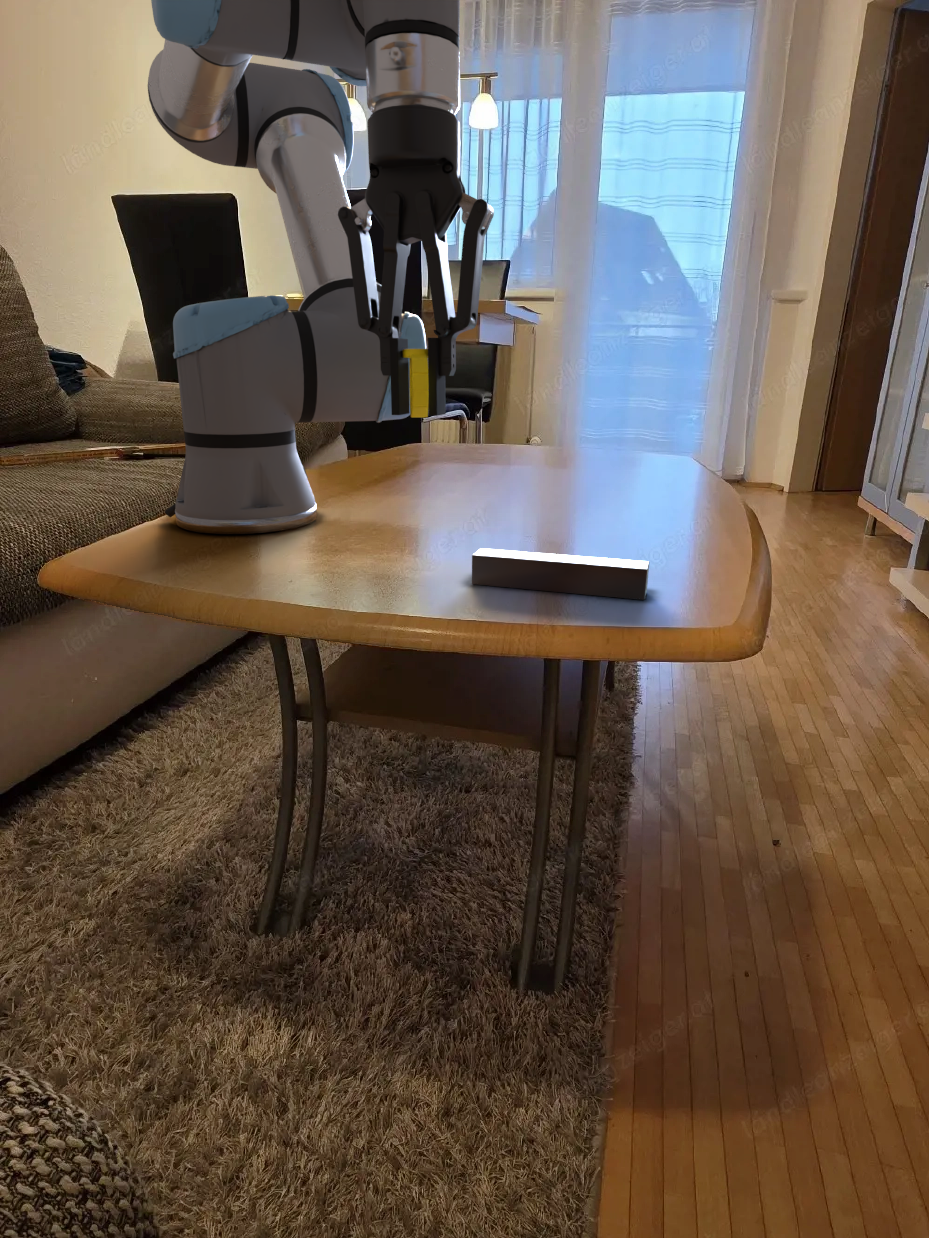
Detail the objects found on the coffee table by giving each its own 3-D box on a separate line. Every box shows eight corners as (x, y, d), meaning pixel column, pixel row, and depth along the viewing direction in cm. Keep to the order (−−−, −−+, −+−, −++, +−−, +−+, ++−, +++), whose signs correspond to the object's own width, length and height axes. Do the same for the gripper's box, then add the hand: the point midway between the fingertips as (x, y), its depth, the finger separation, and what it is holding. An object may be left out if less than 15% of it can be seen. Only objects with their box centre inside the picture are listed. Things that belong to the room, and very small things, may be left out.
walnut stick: (471, 584, 62) (471, 554, 62) (479, 576, 65) (480, 547, 64) (644, 600, 59) (647, 569, 58) (646, 591, 61) (649, 561, 60)
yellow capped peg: (436, 420, 66) (436, 348, 64) (404, 420, 66) (403, 348, 64) (431, 416, 72) (431, 349, 70) (402, 416, 71) (401, 349, 70)
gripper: (303, 109, 60) (320, 415, 67) (498, 90, 56) (494, 418, 63) (342, 135, 67) (354, 411, 74) (519, 121, 63) (513, 413, 70)
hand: (418, 414), depth 69 cm, fingers closed on yellow capped peg, 3 cm apart
